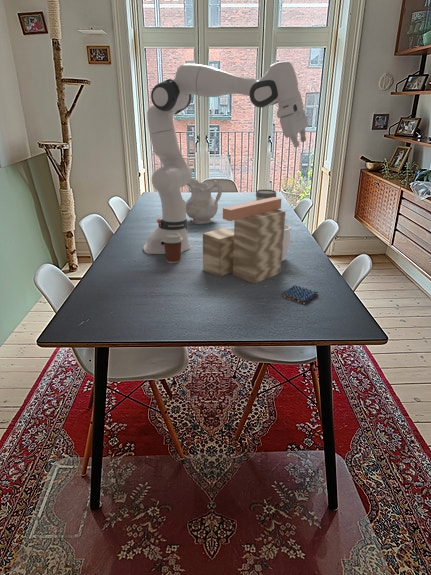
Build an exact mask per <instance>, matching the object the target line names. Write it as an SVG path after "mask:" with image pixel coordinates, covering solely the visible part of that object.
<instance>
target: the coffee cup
mask: <svg viewBox="0 0 431 575" xmlns="http://www.w3.org/2000/svg"><path fill="white" fill-rule="evenodd" d="M162 241H163V242H164V247H165V254H164V255H165V260H166V262H167V263H169V264H178V263H180V262H181V261H182V260H181V258H182V257H181V256H182V253H181V242H182V241H183V238H182V237H181V236H180V234H179V233H166V234H165V235H164V237H163V238H162Z"/></svg>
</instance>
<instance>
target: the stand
mask: <svg viewBox="0 0 431 575" xmlns="http://www.w3.org/2000/svg"><path fill="white" fill-rule="evenodd" d="M286 213H287V212H286V210H285V211H284V210H281V209H277V210H273V211H269V212H265V213H261V214H257V215H253V216H249V217H245V218H241V219H237V220H233V222H234V224H233V227H234V228H233V231H234V255H233V272H232V275H233V276H235V277H237V278H240V279H243V280H245V281H246V282H247V281H248V282H249V283H252V284H257V283H259V282H261V281H264V280H267V279H269V278H272V277H274V276H277V275H280V274H281V272H282V262H283V261H282V250H283V237H284V225H286V224H285V223H286V222H285V221H286Z"/></svg>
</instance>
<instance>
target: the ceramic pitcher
mask: <svg viewBox="0 0 431 575" xmlns="http://www.w3.org/2000/svg"><path fill="white" fill-rule="evenodd" d="M212 181H213V182H212V184H210V185H209V183H207V182H199V180H198V179H195V178H191V180H190V181H189V182H188V183H187V184H186V185H185V186H187V187H189V188H190V189H189V190H190V192H191V195H190V197H189V198H188V199H187V200H186V201H185V203H186V216H188V217H189V218H190V219H192V220H191V222H192V223H193V224H197V225H208V224H211V223H212V222H213V221H212V219H213V218H214V217H215V216H216V215H217V213H218V210H219V209H218V208H219V204H218V202H219V201H220V198H221V197H222V194H223V193H222V191H223V188H222V185H221V183H220V181H219V180H218V179H214V180H212ZM214 188H217V191H218V192H217V195H216V197H215V198H213V196H212V190H213V189H214Z"/></svg>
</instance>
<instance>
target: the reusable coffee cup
mask: <svg viewBox="0 0 431 575" xmlns="http://www.w3.org/2000/svg"><path fill="white" fill-rule="evenodd" d="M255 197H256V200H255V201H258V200H262V199H267V198H271V197H276V198H277V191H276V190H273V189H257V190H256V192H255Z"/></svg>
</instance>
